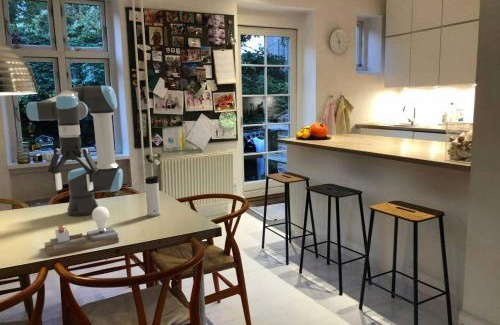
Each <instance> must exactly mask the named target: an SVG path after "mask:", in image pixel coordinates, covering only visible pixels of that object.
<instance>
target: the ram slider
mask: <svg viewBox="0 0 500 325" xmlns="http://www.w3.org/2000/svg"><path fill="white" fill-rule="evenodd" d="M57 228H58V229H55V230H54V232H55V238H56V242H57V244H61V243H66V242H70V238H69V236H70V231H69V230H68V228H67V227H66V225H64V224H62V225H58V226H57Z"/></svg>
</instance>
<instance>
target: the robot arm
mask: <svg viewBox="0 0 500 325" xmlns="http://www.w3.org/2000/svg"><path fill="white" fill-rule="evenodd" d="M115 92H116V91H115V89H114V88H113V87H112V86H110V85H81V86H80V85H79V86H75V87H71V88H68V89H64V90H63V91H61V92H60V93H59V94H58V95H56V96H53V97H51V98H48V99H45V100H41V101H30V102H28V103H27V105H26V108H25V109H26V111H25V112H26V116H27V118H28V119H29V121H34V122H35V121H36V122H40V121H57V127H58V135H59V136H60V137H59V146H60V148H58V147H57V148H54V149H53V155H52V158H51V159H50V160H51V161H50V163H49V166H48V169H47V172H48V173H52V176H53V182H54V183H55V190H56V191H61V190H62V189H63V181H62V173H61V172H60V171H61V170H62V168H63V166H64V165H65V163H66V162H67V161H76V162H78V163H79V165H81V167H78V168H75V169H72V170H69V172H68V174H67V182H68V191H69V202H68V207H67V210H66V211H67V215H68V216H72V217H82V216H85V217H86V216H89V215H90V216H91V215H92V212H93V210H94V209H95V208H97V207H99V205H98V202H97V200H96V198H95V194H94V193H104V192H105V193H109V192H110V193H113V192H119V191H120V189H121V188H122V186H123V180H124V172H123V169H122V168H120V165H119V164H118V163H117V162H116V156H115V143H114V142H115V141H114V130H113V122H112V120H113V119H112V116H113V115H114V113H115V110H117V109H118V101H117V96H116V93H115ZM88 114H90V115H91V116H92V117H93V127H94V138H95V149H96V150H95V151H96V158H97V159H96V160H97V164H96V163H95V161H94V159H93V157H92V156H91V153H90V149H89V148H88V147H87V148H83V149H82V139H81V136H80V135H81V128H80V120H83V119H84V118H86V117H87V115H88ZM60 156H61V157H60Z"/></svg>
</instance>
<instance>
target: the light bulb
mask: <svg viewBox="0 0 500 325" xmlns="http://www.w3.org/2000/svg"><path fill="white" fill-rule="evenodd" d="M91 217H92V219H93V221H94V222H95V223H96V226H97V230H98V231H99V232H104V231H105V230H106V229H105V228H106V226H107V221H108V219H109V217H110V212H109V209H107V207H106V206H102V205H101V206H98V207H97V208H95V209H94V210H93V212H92V214H91Z"/></svg>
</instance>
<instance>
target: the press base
mask: <svg viewBox="0 0 500 325" xmlns="http://www.w3.org/2000/svg"><path fill="white" fill-rule="evenodd" d="M105 229H106V230H105V231H104V232H99V231H98V229H95V230H90V231H86V234H84V235H83V233H82V232H81V233H76V234H69V238H70V242H66V243H61V244H57V242H56V237H55V238H51V239H50V240H49V241H46V242H44V249H45V251H46V253H47V255H48V257H49V258H51V257H55V256H60V255H64V254H70V253H74V252H79V251H85V250H90V249H93V248H98V247H102V246H108V245H112V244H116V243H117V244H118V243H119V242H120V239H119V233H118V232H117V231H116V230H115V229H114V228H112V227H105Z"/></svg>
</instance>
